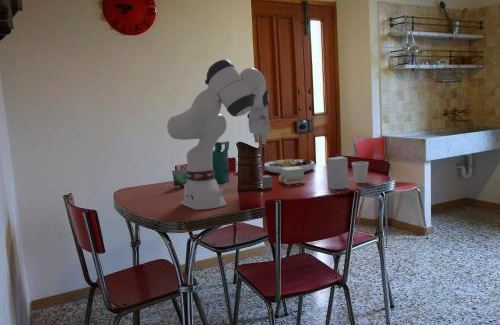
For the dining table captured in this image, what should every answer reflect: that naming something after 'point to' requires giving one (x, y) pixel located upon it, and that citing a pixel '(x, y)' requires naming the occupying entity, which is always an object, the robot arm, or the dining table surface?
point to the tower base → (292, 179)
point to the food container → (180, 177)
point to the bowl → (288, 165)
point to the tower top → (292, 172)
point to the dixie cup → (360, 171)
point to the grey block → (267, 181)
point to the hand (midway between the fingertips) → (260, 143)
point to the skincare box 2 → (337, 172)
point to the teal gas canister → (221, 162)
